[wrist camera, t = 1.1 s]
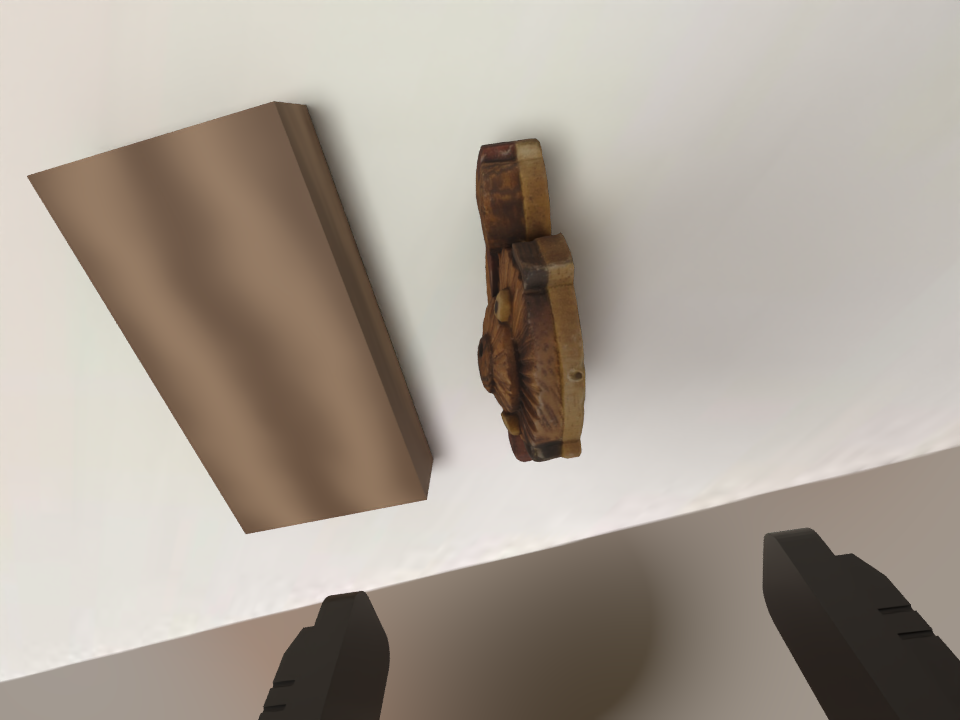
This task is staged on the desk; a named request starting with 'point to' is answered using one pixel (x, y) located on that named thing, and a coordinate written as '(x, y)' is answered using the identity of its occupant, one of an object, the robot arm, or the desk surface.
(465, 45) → the desk surface
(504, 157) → the wooden carving
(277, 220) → the walnut plinth
